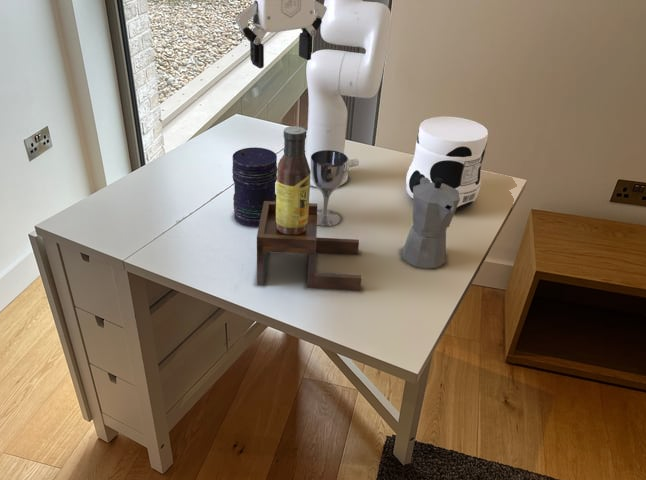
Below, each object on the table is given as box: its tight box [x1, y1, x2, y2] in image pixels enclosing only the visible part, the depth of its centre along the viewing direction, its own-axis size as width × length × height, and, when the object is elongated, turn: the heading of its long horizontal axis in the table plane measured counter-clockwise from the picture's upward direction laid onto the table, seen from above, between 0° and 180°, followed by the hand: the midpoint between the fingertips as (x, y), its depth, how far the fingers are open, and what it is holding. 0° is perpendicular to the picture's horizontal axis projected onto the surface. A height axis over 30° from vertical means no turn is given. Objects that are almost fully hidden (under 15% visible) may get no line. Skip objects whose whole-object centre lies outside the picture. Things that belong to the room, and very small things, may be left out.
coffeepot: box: [402, 174, 460, 270], centre depth 118 cm, size 15×9×18 cm, turn 13°
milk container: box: [405, 115, 489, 211], centre depth 138 cm, size 17×17×18 cm
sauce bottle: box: [275, 125, 311, 235], centre depth 108 cm, size 6×6×20 cm
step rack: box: [256, 201, 362, 292], centre depth 116 cm, size 20×14×11 cm
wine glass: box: [311, 150, 348, 227], centre depth 131 cm, size 8×8×15 cm
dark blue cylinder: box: [231, 146, 278, 228], centre depth 131 cm, size 10×10×15 cm
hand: (281, 62), depth 105 cm, fingers open, 9 cm apart
